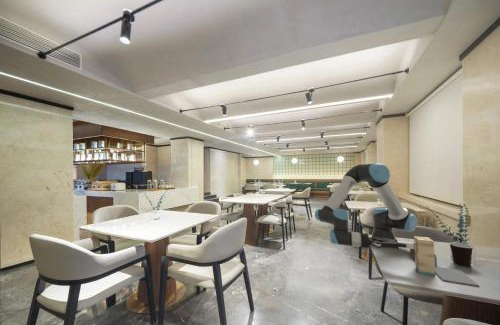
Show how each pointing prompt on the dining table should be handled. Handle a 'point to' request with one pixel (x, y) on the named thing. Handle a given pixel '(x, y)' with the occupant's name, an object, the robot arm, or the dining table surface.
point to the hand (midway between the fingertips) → (413, 245)
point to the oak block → (424, 255)
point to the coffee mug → (461, 254)
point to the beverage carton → (414, 254)
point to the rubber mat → (454, 276)
